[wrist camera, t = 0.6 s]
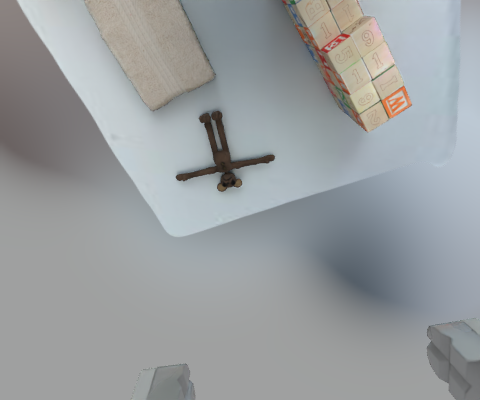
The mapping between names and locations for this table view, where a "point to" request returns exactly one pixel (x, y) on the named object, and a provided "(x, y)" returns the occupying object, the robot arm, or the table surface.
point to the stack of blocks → (351, 59)
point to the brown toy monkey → (222, 156)
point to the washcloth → (153, 46)
